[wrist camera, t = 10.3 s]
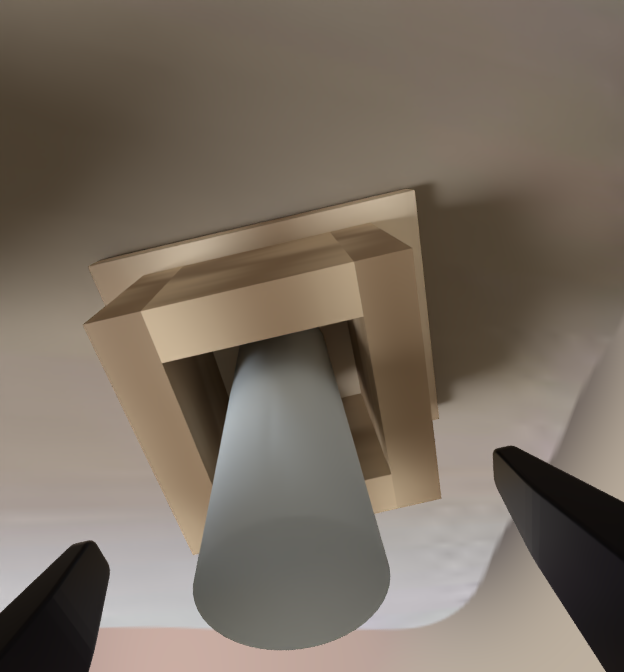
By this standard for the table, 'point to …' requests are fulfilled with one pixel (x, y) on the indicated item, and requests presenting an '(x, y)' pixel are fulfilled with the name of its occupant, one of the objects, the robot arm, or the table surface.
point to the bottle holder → (271, 321)
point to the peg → (288, 507)
